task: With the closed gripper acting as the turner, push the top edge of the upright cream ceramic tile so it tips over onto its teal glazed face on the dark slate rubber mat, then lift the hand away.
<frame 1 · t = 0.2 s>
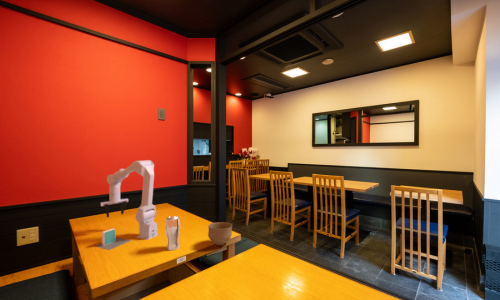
hand: (115, 215, 130), 10 cm above the table, tool pointing down, fingers open, 7 cm apart
mat: (113, 244, 112), on the table
bowl: (220, 244, 110), on the table
beer glass: (173, 247, 106), on the table
tile: (108, 243, 112), resting on mat
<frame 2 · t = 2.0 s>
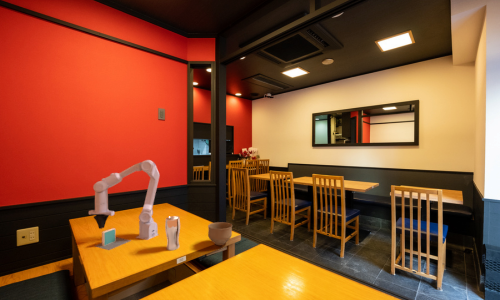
hand: (101, 228, 114), 8 cm above the table, tool pointing down, fingers closed
nothing on the table moved.
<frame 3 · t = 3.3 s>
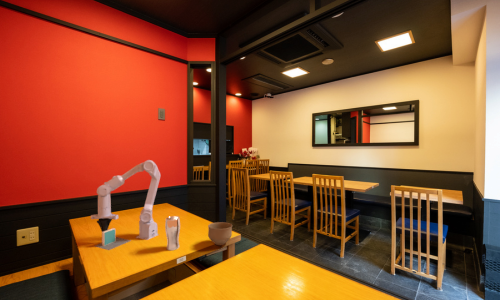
hand: (104, 232, 113), 6 cm above the table, tool pointing down, fingers closed
nothing on the table moved.
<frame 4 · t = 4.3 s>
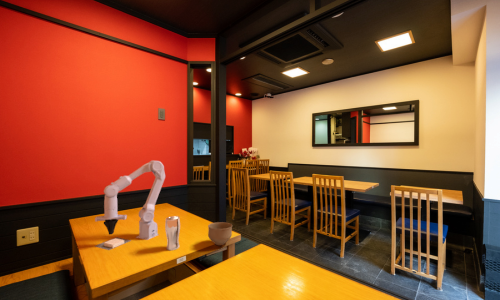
hand: (111, 233, 111), 6 cm above the table, tool pointing down, fingers closed
tile: (110, 241, 111), point 1 cm above the table, tilted 90°, touching mat
everything else where it was.
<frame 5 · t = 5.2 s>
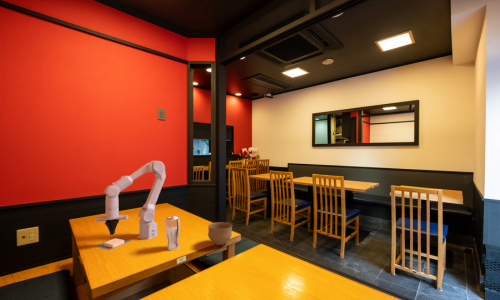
hand: (112, 234, 110), 6 cm above the table, tool pointing down, fingers closed
nothing on the table moved.
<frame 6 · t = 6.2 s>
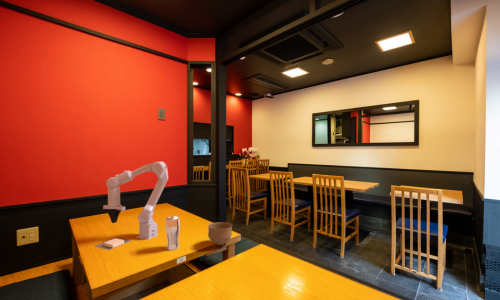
hand: (114, 222, 118), 9 cm above the table, tool pointing down, fingers closed
nothing on the table moved.
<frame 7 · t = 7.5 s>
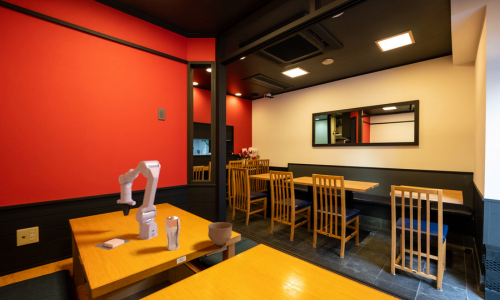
hand: (126, 215, 131), 9 cm above the table, tool pointing down, fingers closed
nothing on the table moved.
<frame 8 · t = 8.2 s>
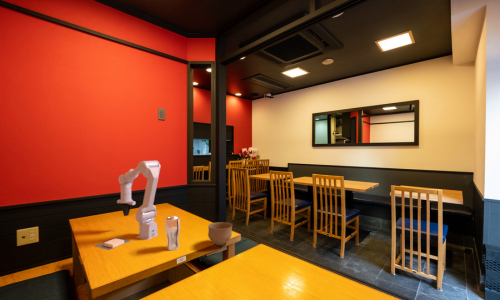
hand: (126, 215, 131), 9 cm above the table, tool pointing down, fingers closed
nothing on the table moved.
at the end: tile tilted 90°; tile inside the target area (0.6 cm from its centre), point 1.4 cm above the table; tile touching mat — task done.
